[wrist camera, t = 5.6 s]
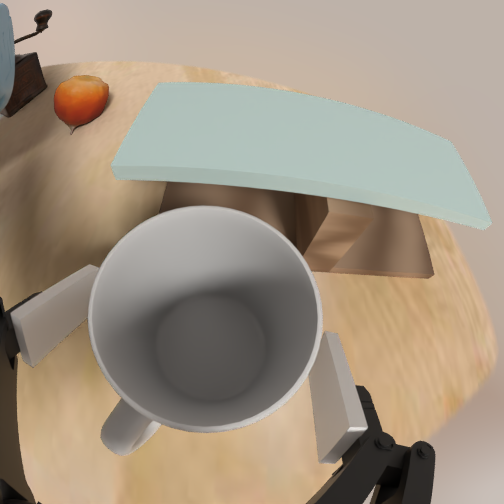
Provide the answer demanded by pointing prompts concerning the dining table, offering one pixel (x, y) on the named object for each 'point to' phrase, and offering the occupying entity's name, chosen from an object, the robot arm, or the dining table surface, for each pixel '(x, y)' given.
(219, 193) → the fulcrum stand
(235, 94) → the plank
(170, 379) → the mug
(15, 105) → the manual coffee grinder
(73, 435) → the dining table surface
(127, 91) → the dining table surface
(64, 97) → the fruit
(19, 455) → the robot arm
